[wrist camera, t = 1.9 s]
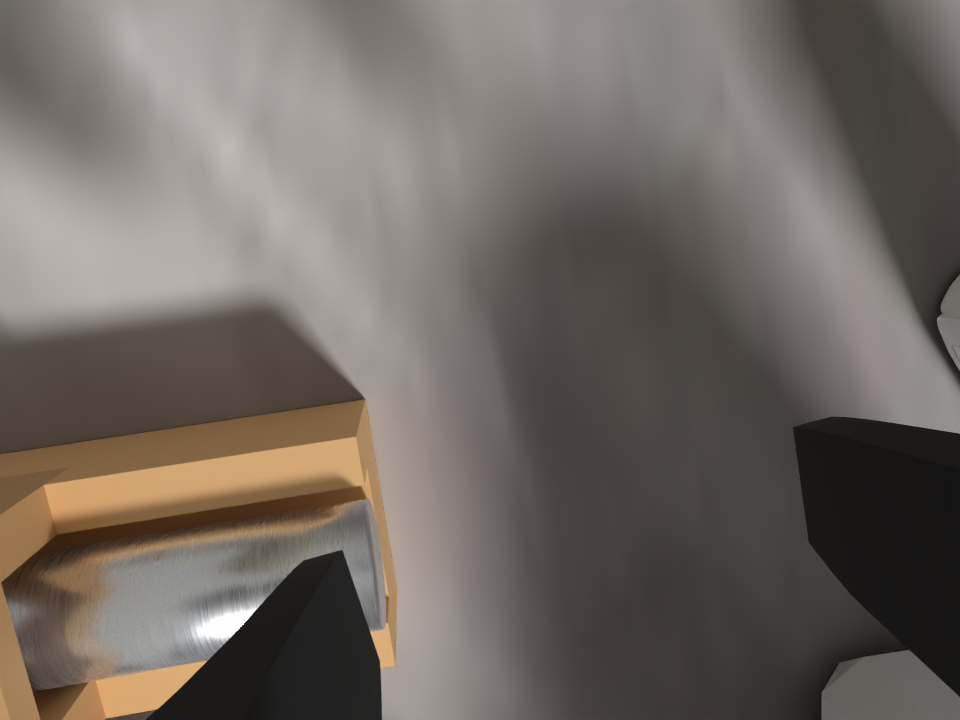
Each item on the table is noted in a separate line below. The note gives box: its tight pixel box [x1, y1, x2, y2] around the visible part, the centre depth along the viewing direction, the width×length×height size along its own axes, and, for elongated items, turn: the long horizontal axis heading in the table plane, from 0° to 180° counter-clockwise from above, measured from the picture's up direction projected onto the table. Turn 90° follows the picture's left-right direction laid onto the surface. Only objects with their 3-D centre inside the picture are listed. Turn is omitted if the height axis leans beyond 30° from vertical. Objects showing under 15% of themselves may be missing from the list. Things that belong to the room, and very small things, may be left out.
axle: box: [1, 499, 386, 692], centre depth 16 cm, size 10×3×3 cm, turn 97°
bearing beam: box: [0, 399, 397, 720], centre depth 16 cm, size 14×6×7 cm, turn 97°
